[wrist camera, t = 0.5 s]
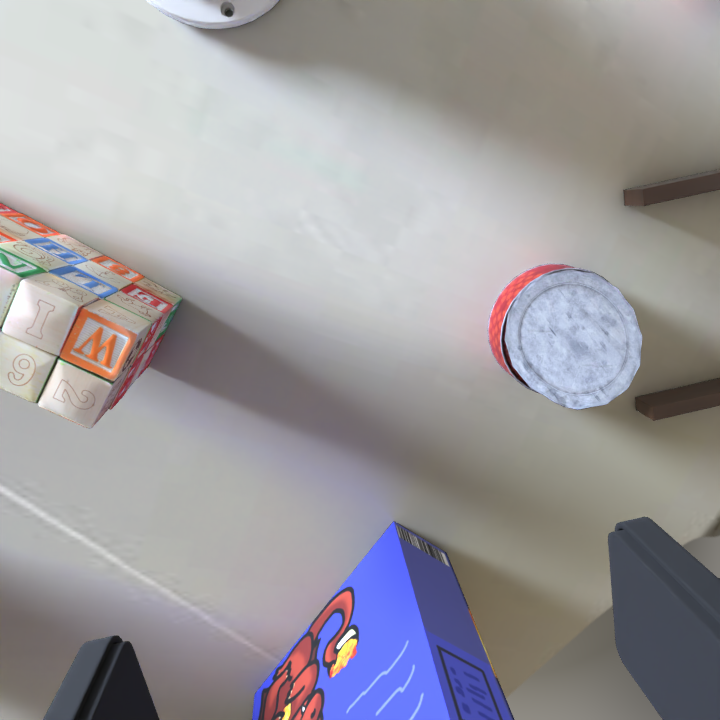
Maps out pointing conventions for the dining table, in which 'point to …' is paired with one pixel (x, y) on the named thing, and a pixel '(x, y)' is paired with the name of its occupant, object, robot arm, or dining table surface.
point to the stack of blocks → (73, 321)
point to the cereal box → (389, 647)
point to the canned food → (566, 335)
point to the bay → (694, 394)
